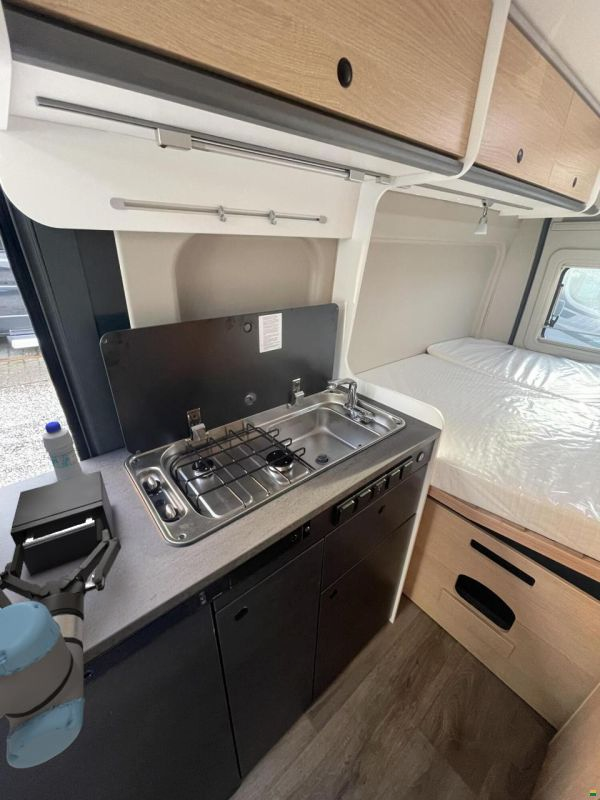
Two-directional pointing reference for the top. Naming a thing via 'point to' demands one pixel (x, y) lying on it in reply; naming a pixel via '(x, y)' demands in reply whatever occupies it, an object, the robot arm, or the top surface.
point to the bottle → (61, 452)
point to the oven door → (60, 537)
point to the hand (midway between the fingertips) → (61, 535)
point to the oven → (62, 499)
